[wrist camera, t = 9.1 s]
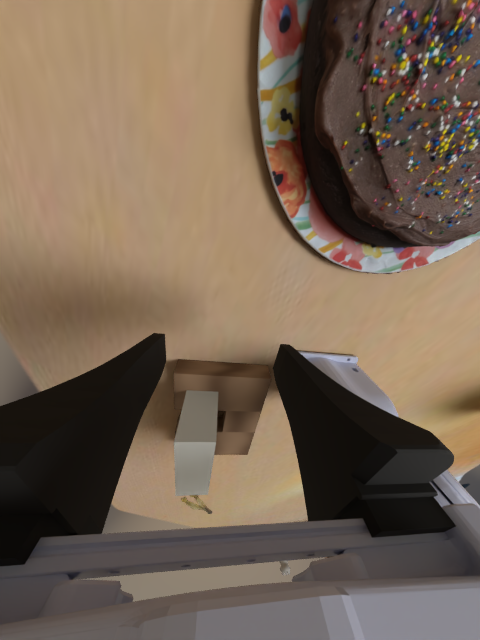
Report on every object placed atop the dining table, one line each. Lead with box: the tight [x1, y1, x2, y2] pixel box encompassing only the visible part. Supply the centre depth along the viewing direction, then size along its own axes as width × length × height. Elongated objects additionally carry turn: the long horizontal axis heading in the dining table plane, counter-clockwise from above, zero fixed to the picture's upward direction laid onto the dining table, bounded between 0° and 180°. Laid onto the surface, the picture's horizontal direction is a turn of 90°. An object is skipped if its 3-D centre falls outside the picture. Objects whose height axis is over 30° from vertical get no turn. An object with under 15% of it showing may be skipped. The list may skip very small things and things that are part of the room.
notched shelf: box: [174, 359, 271, 455], centre depth 26 cm, size 12×18×2 cm, turn 171°
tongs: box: [182, 495, 212, 514], centre depth 44 cm, size 4×13×2 cm, turn 27°
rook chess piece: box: [280, 560, 290, 575], centre depth 58 cm, size 4×4×8 cm
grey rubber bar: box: [174, 390, 218, 496], centre depth 22 cm, size 4×12×6 cm, turn 171°
